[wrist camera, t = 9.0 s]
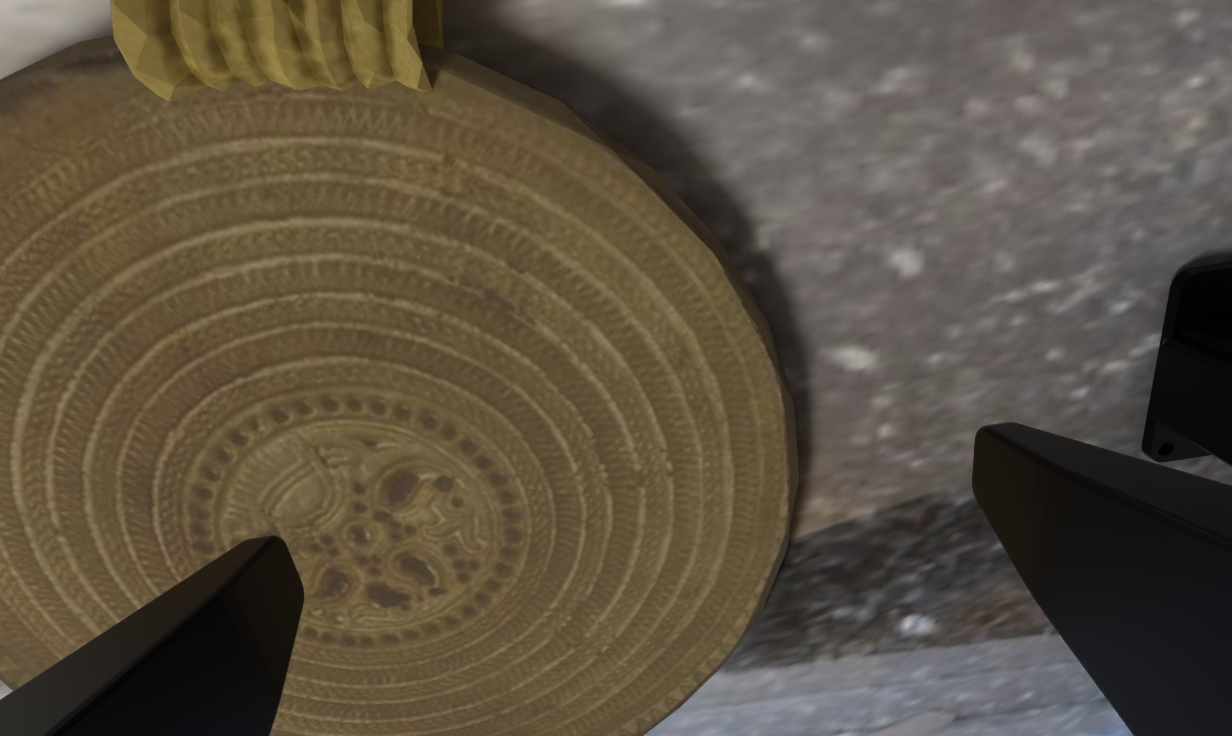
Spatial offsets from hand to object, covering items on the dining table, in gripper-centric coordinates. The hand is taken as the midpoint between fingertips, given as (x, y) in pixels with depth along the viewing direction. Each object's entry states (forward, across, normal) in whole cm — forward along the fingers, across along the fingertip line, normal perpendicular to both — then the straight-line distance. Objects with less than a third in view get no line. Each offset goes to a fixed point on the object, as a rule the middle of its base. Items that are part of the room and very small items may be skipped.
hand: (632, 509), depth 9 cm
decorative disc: (+13, +9, +6) cm, 17 cm away
